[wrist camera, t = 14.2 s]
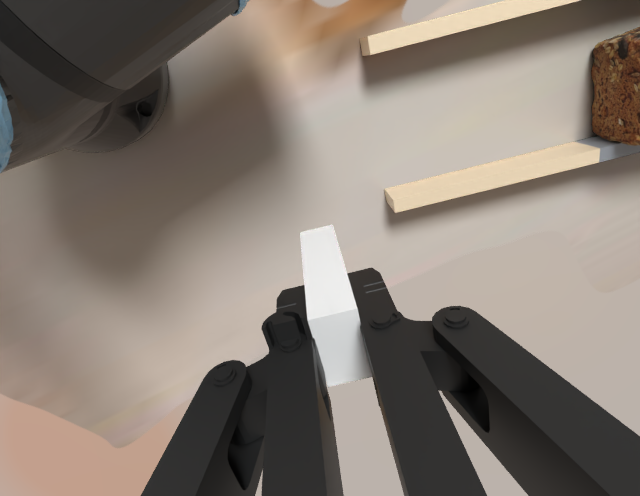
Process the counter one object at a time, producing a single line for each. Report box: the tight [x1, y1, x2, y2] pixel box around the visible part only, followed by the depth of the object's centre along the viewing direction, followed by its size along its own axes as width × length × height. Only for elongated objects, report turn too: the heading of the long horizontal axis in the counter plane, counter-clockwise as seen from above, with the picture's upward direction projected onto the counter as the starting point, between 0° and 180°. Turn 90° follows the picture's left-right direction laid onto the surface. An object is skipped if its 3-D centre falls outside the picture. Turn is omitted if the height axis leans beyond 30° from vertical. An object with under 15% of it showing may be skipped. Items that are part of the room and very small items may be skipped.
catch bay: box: [360, 0, 640, 213], centre depth 39 cm, size 17×46×4 cm, turn 103°
